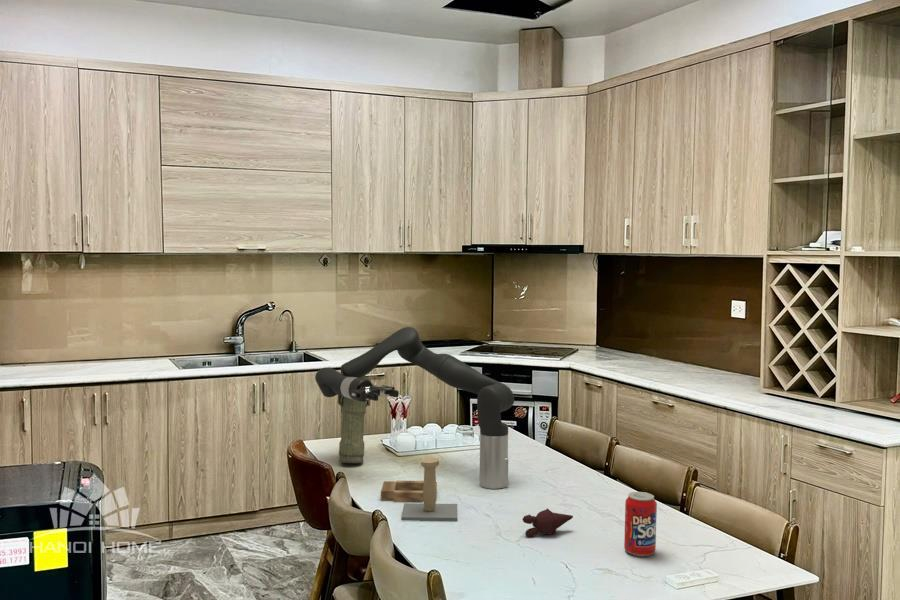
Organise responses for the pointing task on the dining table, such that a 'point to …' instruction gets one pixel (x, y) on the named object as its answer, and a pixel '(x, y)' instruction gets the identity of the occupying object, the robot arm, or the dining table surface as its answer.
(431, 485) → the handle
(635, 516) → the soda can
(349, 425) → the thermos
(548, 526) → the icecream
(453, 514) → the mat
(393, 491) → the collar
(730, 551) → the dining table surface
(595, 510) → the dining table surface
